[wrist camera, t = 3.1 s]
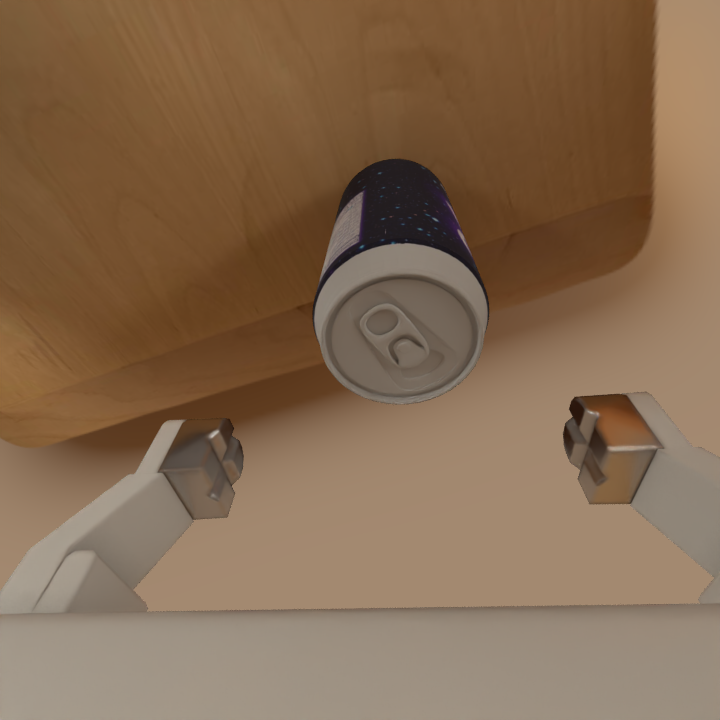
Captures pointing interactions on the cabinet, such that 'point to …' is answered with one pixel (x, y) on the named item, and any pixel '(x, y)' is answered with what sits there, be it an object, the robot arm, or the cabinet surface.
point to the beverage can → (399, 289)
